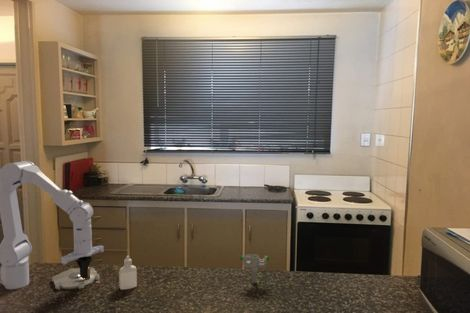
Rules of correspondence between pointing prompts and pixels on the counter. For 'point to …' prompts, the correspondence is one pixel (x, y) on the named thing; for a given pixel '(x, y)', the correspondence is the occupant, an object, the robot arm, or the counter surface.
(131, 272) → the eye dropper bottle
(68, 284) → the tabbed shallow bowl
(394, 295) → the counter surface
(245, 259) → the mechanical component
